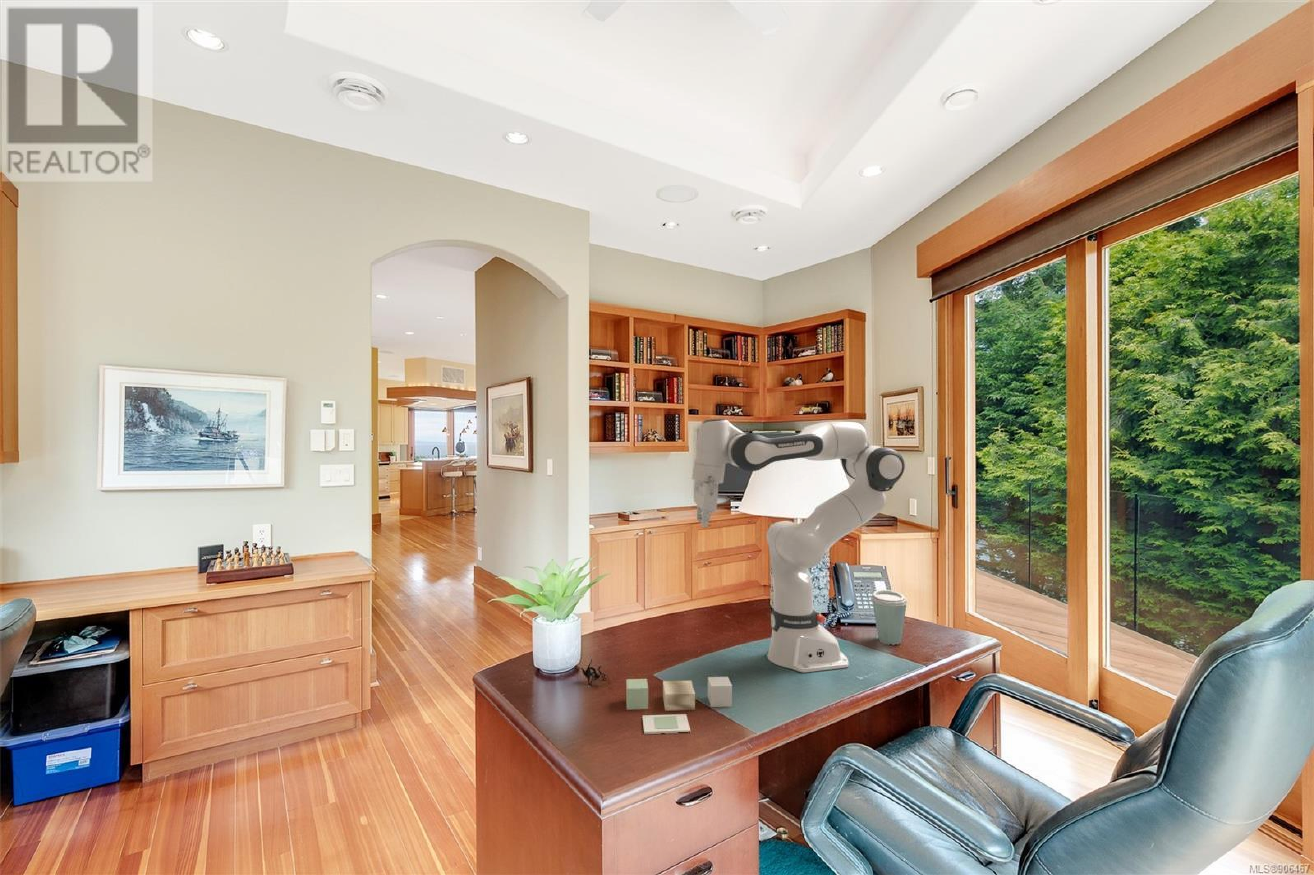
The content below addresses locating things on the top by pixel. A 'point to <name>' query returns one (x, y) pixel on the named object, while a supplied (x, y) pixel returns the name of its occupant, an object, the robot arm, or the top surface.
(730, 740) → the top surface
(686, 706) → the birch block
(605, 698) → the top surface
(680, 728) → the tile
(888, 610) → the disposable coffee cup
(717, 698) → the grey cube
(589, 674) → the creature
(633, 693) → the sage cube
